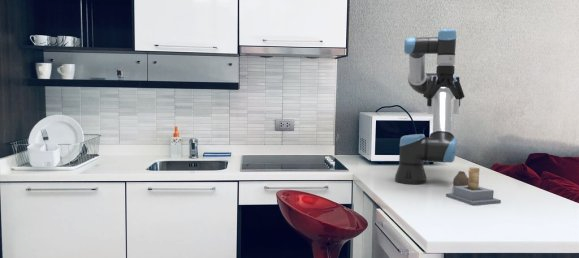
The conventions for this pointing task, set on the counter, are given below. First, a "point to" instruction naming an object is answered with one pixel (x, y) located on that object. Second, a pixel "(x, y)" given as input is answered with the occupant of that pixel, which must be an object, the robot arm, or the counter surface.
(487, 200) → the socket
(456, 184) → the vase
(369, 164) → the counter surface
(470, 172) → the peg
